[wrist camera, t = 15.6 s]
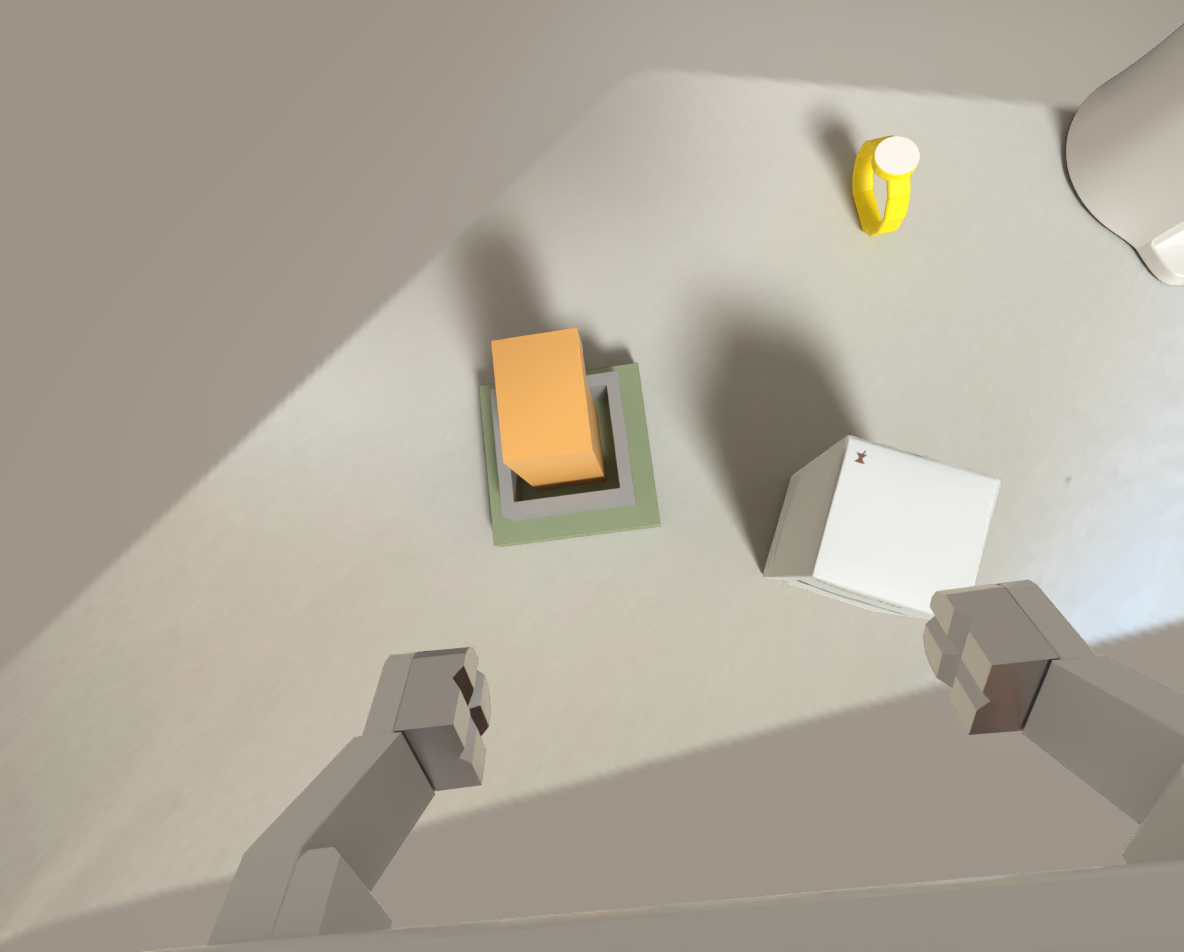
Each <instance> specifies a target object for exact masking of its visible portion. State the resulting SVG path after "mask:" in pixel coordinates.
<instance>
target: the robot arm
mask: <svg viewBox="0 0 1184 952" xmlns="http://www.w3.org/2000/svg"><path fill="white" fill-rule="evenodd" d="M1066 159H1067V166H1068V171H1069V175H1070V178H1071V181H1072V183H1073V185H1074V188H1075V190H1076V192H1077V194H1078V195H1079V197H1080V199H1081V200H1082V202H1083V203H1084V204H1085V206H1086V207H1087V208H1088V210H1089V211H1090V212H1091V213H1092V214H1093V215H1094V216H1095V217H1096V218H1097V219H1098V220H1099V221H1100V222H1101V223H1102V224H1103V225H1105V226H1106V227H1107V228H1109V229H1110V230H1111V231H1113V232H1114V233H1116V234H1117V235H1119V236H1120V237H1121V238H1123V239H1124V240H1126V241H1127V242H1128V243H1130V244H1131V245H1132V246H1133V247H1134V248H1135V249H1136V250H1137V251H1138V253H1139V255H1140V256H1141V258H1142V259H1143V261H1144V262H1145V264H1146V265H1147V266H1148V268H1149V269H1150V270H1151V272H1152V273H1153V274H1154V275H1155V276H1156V277H1157V278H1158V279H1159V280H1161V281H1162V282H1164V283H1167V284H1171V285H1184V24H1183V25H1181V26H1180V27H1179V28H1178V29H1177V30H1175V31H1174V32H1173V33H1172V34H1171V35H1170V36H1168V37H1167V38H1166V39H1165V40H1164V41H1162V42H1161V43H1160V44H1159V45H1157V46H1156V47H1155V48H1153V49H1152V50H1151V51H1150V52H1148V53H1147V54H1146V55H1144V56H1143V57H1142V58H1140V59H1139V60H1138V61H1136V62H1135V63H1134V64H1132V65H1131V66H1130V67H1128V68H1127V69H1125V70H1124V71H1122V72H1121V73H1120V74H1118V75H1116V76H1115V77H1113V78H1112V79H1110V80H1109V81H1107V82H1106V83H1104V84H1103V85H1101V86H1100V87H1098V88H1097V89H1096V90H1095V91H1094V92H1093V93H1092V94H1091V95H1090V96H1089V97H1088V98H1087V99H1086V100H1085V101H1084V102H1083V104H1082V105H1081V106H1080V108H1079V109H1078V111H1077V113H1076V114H1075V116H1074V118H1073V121H1072V123H1071V126H1070V129H1069V132H1068V137H1067V144H1066ZM929 607H930V608H931V610H932V612H933V613H934V615H935V616H934V617H933V618H932V619H931V620H930V621H928V622H927V623H926V624H925V630H924V636H923V640H924V647H925V653H926V656H927V659H928V662H929V664H930V666H931V668H932V670H933V672H934V674H935V676H936V677H937V678H938V679H939V680H941V681H943V682H944V683H946V684H947V685H949V686H950V687H952V691H951V695H950V699H949V701H950V702H951V704H952V706H953V708H954V710H955V711H956V713H957V715H958V716H959V718H960V720H961V722H962V723H963V725H964V727H965V729H966V731H967V732H968V734H969V735H972V734H986V733H998V732H1012V731H1023V732H1022V734H1024V735H1025V736H1026V737H1027V738H1029V739H1030V740H1031V741H1033V742H1034V743H1035V744H1037V745H1038V746H1039V747H1040V748H1042V749H1043V750H1044V751H1045V752H1047V753H1048V754H1049V755H1051V756H1052V757H1053V758H1055V759H1056V760H1057V761H1058V762H1060V763H1061V764H1062V765H1064V766H1065V767H1066V768H1067V769H1069V770H1070V771H1071V772H1073V773H1074V774H1075V775H1077V776H1078V777H1079V778H1080V779H1082V780H1083V781H1084V782H1086V783H1087V784H1088V785H1089V786H1091V787H1092V788H1093V789H1095V790H1096V791H1097V792H1098V793H1100V794H1101V795H1102V796H1104V797H1105V798H1106V799H1108V800H1109V801H1110V802H1111V803H1113V804H1114V805H1115V806H1117V807H1118V808H1119V809H1121V810H1122V811H1123V812H1124V813H1126V814H1127V815H1128V816H1130V817H1131V818H1132V819H1134V820H1135V821H1136V822H1137V823H1139V824H1140V826H1139V828H1138V829H1137V830H1136V832H1135V833H1134V835H1133V836H1132V838H1131V839H1130V841H1129V842H1128V844H1127V845H1126V847H1125V849H1124V852H1123V854H1122V856H1123V858H1124V859H1125V861H1126V862H1127V864H1123V865H1113V866H1101V867H1089V868H1078V869H1067V870H1056V871H1044V872H1033V873H1021V874H1010V875H998V876H987V877H976V878H965V879H953V880H942V881H930V882H920V883H909V884H908V883H907V884H896V885H885V886H873V887H862V888H850V889H839V890H828V891H816V892H805V893H794V894H782V895H771V896H760V897H748V898H737V899H727V900H726V899H725V900H714V901H703V902H691V903H681V904H669V905H657V906H646V907H635V908H624V909H613V910H601V911H590V912H578V913H567V914H556V915H544V916H533V917H522V918H511V919H499V920H489V921H477V922H466V923H455V924H443V925H432V926H421V927H410V928H399V929H391V926H392V920H391V918H390V916H389V915H388V913H387V912H386V911H385V909H384V908H383V907H382V906H381V904H380V903H379V902H378V901H377V900H376V898H375V897H374V896H373V895H372V893H371V890H372V889H373V887H374V886H375V884H376V883H377V881H378V880H379V878H380V877H381V875H382V874H383V872H384V871H385V869H386V868H387V866H388V865H389V863H390V862H391V860H392V859H393V857H394V856H395V854H396V852H397V851H398V850H399V848H400V846H401V845H402V843H403V842H404V840H405V839H406V837H407V836H408V834H409V833H410V831H411V830H412V828H413V827H414V825H415V824H416V822H417V821H418V819H419V818H420V816H421V815H422V813H423V812H424V810H425V809H426V807H427V806H428V804H429V803H430V801H431V800H432V798H433V797H434V795H435V792H434V791H440V790H448V789H455V788H463V787H471V786H478V785H482V778H483V770H484V762H485V755H486V748H485V746H484V743H483V741H482V738H481V736H482V735H483V733H484V732H485V731H486V730H487V728H488V727H489V722H490V712H491V710H490V693H489V688H488V683H487V680H486V678H485V675H484V674H482V673H481V672H479V671H477V665H478V657H477V655H476V653H475V650H474V648H473V647H466V648H455V649H444V650H433V651H422V652H414V653H404V654H394V655H390V656H389V658H388V659H387V660H386V662H385V663H384V666H383V669H382V673H381V676H380V679H379V683H378V686H377V689H376V692H375V696H374V699H373V702H372V705H371V709H370V712H369V715H368V719H367V722H366V725H365V728H364V732H363V735H362V736H358V737H354V738H353V739H352V740H351V741H350V742H349V743H348V744H347V745H346V746H345V747H344V748H343V749H342V750H341V752H340V753H339V754H338V755H337V756H336V757H335V758H334V759H333V760H332V761H331V762H330V763H329V764H328V765H327V766H326V767H325V768H324V769H323V770H322V772H321V773H320V774H319V775H318V776H317V777H316V778H315V779H314V780H313V781H312V782H311V783H310V784H309V785H308V786H307V787H306V788H305V789H304V791H303V792H302V793H301V794H300V795H299V796H298V797H297V798H296V799H295V800H294V801H293V802H292V803H291V804H290V805H289V806H288V807H287V808H286V809H285V811H284V812H283V813H282V814H281V815H280V816H279V817H278V818H277V819H276V820H275V821H274V822H273V823H272V824H271V825H270V826H269V827H268V828H267V830H266V831H265V832H264V833H263V834H262V835H261V836H260V837H259V838H258V839H257V840H256V841H255V842H254V843H253V844H252V845H251V846H250V847H249V848H248V850H247V851H246V852H245V853H244V855H243V857H242V860H241V862H240V865H239V867H238V870H237V872H236V874H235V877H234V879H233V882H232V884H231V887H230V889H229V892H228V894H227V897H226V899H225V902H224V904H223V906H222V909H221V911H220V914H219V916H218V919H217V921H216V924H215V926H214V929H213V931H212V934H211V936H210V938H209V941H208V943H207V945H206V946H195V947H183V948H172V949H161V950H150V951H138V952H1184V694H1181V693H1180V692H1178V691H1176V690H1174V689H1172V688H1170V687H1168V686H1166V685H1164V684H1162V683H1160V682H1158V681H1156V680H1155V679H1152V678H1151V677H1149V676H1147V675H1145V674H1143V673H1141V672H1139V671H1137V670H1135V669H1133V668H1131V667H1130V666H1128V665H1126V664H1124V663H1122V662H1120V661H1118V660H1116V659H1114V658H1112V657H1110V656H1108V655H1096V654H1095V653H1094V651H1093V650H1092V649H1091V648H1090V647H1089V646H1088V644H1087V643H1086V642H1085V641H1084V640H1083V638H1082V637H1081V636H1080V635H1079V634H1078V633H1077V631H1076V630H1075V629H1074V628H1073V627H1072V626H1071V624H1070V623H1069V622H1068V621H1067V620H1066V618H1065V617H1064V616H1063V615H1062V614H1061V613H1060V611H1059V610H1058V609H1057V608H1056V607H1055V605H1054V604H1053V603H1052V602H1051V601H1050V600H1049V598H1048V597H1047V596H1046V595H1045V594H1044V593H1043V591H1042V590H1041V589H1040V588H1039V587H1038V585H1037V584H1035V583H1034V582H1032V581H1030V580H1023V581H1015V582H1006V583H998V584H987V585H979V586H971V587H964V588H956V589H948V590H941V591H936V592H935V593H934V595H933V596H932V598H931V602H930V606H929Z"/></svg>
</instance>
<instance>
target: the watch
mask: <svg viewBox="0 0 1184 952" xmlns="http://www.w3.org/2000/svg"><path fill="white" fill-rule="evenodd" d="M919 159H920V153H919V149H918V147H917V146H916V144H915V143H913V142H912V141H911V140H909V139H907V138H905V137H899V136H897V137H894V136H887V137H882V138H878V139H873V140H869V141H866V142H865V143H864V144H863V145H862V147H861V149H860V150H859V152H858V154H857V157H856V160H855V165H854V170H853V179H852V194H853V195H852V197H854V200H855V204H856V208H857V211H858V215H859V219H860V223H861V226H862V230H864V231H865V232H866V233H867V234H868V235H870V236H875V235H879V234H884V233H889V232H892V231H895V230H897V229H898V228H899V226H900V225H901V223H902V221H903V220H904V218H905V215H906V213H907V209H908V204H909V199H910V195H909V194H910V193H911V190H910V175H911V174H912V173H913V172H914V170H915V169H916V167H917V165H918V163H919ZM873 171H874V172H875V173H876V174H877V175H878V176H879V177H880V178H882V179H884V180H887V202H886V207H885V212H884V218H883V219H882V221H881V218H880V214H879V211H878V207H877V203H876V200H875V196H874V192H873Z"/></svg>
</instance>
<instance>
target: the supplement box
mask: <svg viewBox="0 0 1184 952" xmlns="http://www.w3.org/2000/svg"><path fill="white" fill-rule="evenodd" d="M1000 485H1001V479H1000V478H998V477H997V476H994V475H991V474H987V473H984V472H980V471H976V470H973V469H969V468H965V467H962V466H958V465H955V464H951V463H947V462H944V461H940V460H937V459H933V458H930V457H927V456H924V455H921V454H917V453H913V452H908V451H904V450H901V449H898V448H894V447H890V446H887V445H883V444H880V443H876V442H873V441H869V440H865V439H862V438H859V437H856V436H852V435H847V436H846V437H844V438H843V439H841V440H840V441H839V442H837V443H836V444H834V445H833V446H832V447H830V448H829V449H828V450H826V451H825V452H824V453H822V454H821V455H819V456H818V457H817V458H815V459H814V460H812V461H811V462H810V463H808V464H807V465H805V466H804V467H803V468H801V469H800V470H799V471H797V472H796V473H794V474H793V475H792V476H791V479H790V482H789V486H788V489H787V492H786V496H785V500H784V503H783V507H782V510H781V513H780V517H779V520H778V524H777V527H776V531H775V534H774V538H773V541H772V544H771V548H770V551H769V555H768V558H767V562H766V565H765V569H764V573H763V576H764V577H765V578H769V579H773V580H776V581H780V582H783V583H787V584H790V585H793V586H796V587H799V588H802V589H806V590H809V591H812V592H815V593H818V594H821V595H824V596H827V597H830V598H834V599H837V600H840V601H843V602H846V603H850V604H852V605H855V606H858V607H861V608H864V609H867V610H869V611H876V612H882V613H889V614H895V615H902V616H909V617H916V618H924V619H932V618H933V617H934V616H935V615H934V613H933V612H932V610H931V608H930V607H929V606H930V602H931V598H932V596H933V595H934V593H935V592H936V591H941V590H948V589H956V588H964V587H971V586H974V585H975V580H976V576H977V572H978V568H979V564H980V559H981V555H982V552H983V548H984V544H985V541H986V537H987V533H988V530H989V526H990V522H991V519H992V515H993V511H994V507H995V503H996V500H997V496H998V492H999V489H1000Z"/></svg>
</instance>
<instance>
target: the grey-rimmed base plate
mask: <svg viewBox="0 0 1184 952" xmlns="http://www.w3.org/2000/svg"><path fill="white" fill-rule="evenodd" d="M585 372H586V379H587V382H588V385H589V389H590V392H591V395H592V398H593V401H594V404H595V408H596V411H597V414H598V421H599V429H600V437H601V444H602V452H603V460H604V468H605V475H606V481H604V482H596V483H589V484H582V485H575V486H567V487H560V488H553V489H545V490H536V489H535V488H534V487H533V486H531V485H530V484H529V483H528V482H526V481H525V480H524V479H523V478H522V477H520V476H519V475H518V474H517V473H515V472H514V471H513V470H512V469H510V468H509V467H508V466H507V465H506V464H504V463H503V455H502V445H501V435H500V425H499V415H498V405H497V396H496V386H495V384H489V385H482V386H479V390H480V400H481V411H482V422H483V432H484V443H485V454H486V465H487V475H488V486H489V497H490V508H491V518H492V529H493V540H494V545H496V546H500V547H503V546H511V545H519V544H527V543H535V542H542V541H550V540H558V539H566V538H573V537H581V536H589V535H597V534H604V533H612V532H620V531H628V530H636V529H643V528H651V527H659V526H660V517H659V510H658V503H657V496H656V488H655V481H654V474H653V467H652V460H651V453H650V446H649V438H648V431H647V424H646V417H645V410H644V403H643V396H642V388H641V381H640V374H639V367H638V363H632V364H625V365H619V366H612V367H605V368H598V369H591V370H585Z"/></svg>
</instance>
